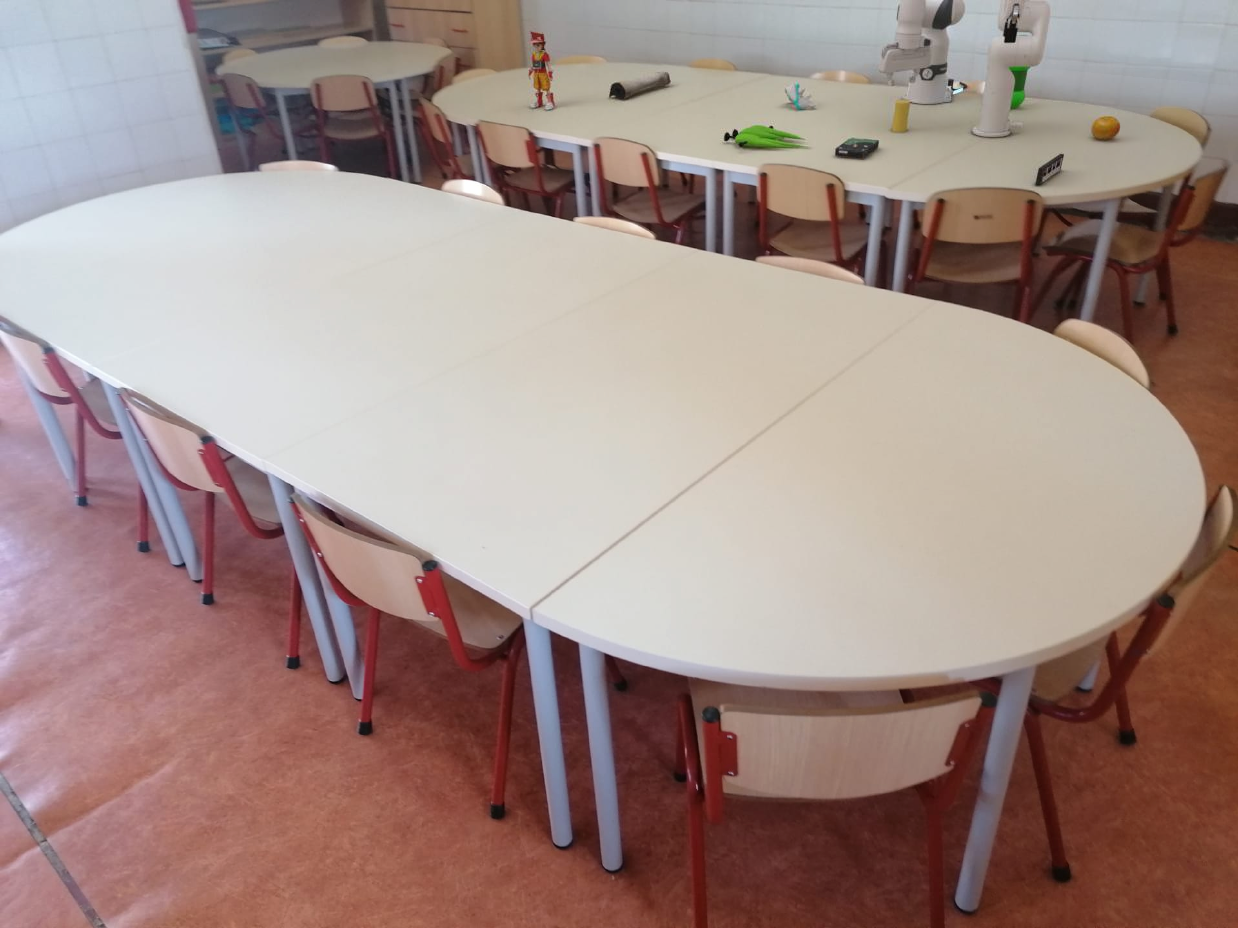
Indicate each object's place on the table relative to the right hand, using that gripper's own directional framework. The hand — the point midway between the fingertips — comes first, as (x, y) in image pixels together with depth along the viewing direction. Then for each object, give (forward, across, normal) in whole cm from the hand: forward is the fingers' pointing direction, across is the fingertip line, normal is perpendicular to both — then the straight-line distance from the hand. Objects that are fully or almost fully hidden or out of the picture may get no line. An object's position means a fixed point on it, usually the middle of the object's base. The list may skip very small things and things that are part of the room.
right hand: (1008, 39), depth 271 cm
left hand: (+21, -35, -31) cm, 51 cm away
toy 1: (+36, -54, -178) cm, 189 cm away
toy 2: (+36, -11, -73) cm, 82 cm away
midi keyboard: (+36, +16, +17) cm, 43 cm away
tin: (+36, -34, -30) cm, 58 cm away
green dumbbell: (+36, -71, +9) cm, 81 cm away
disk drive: (+36, -4, -42) cm, 56 cm away
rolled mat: (+36, -85, -143) cm, 170 cm away
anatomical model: (+36, -66, -71) cm, 104 cm away
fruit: (+36, -31, +38) cm, 61 cm away
